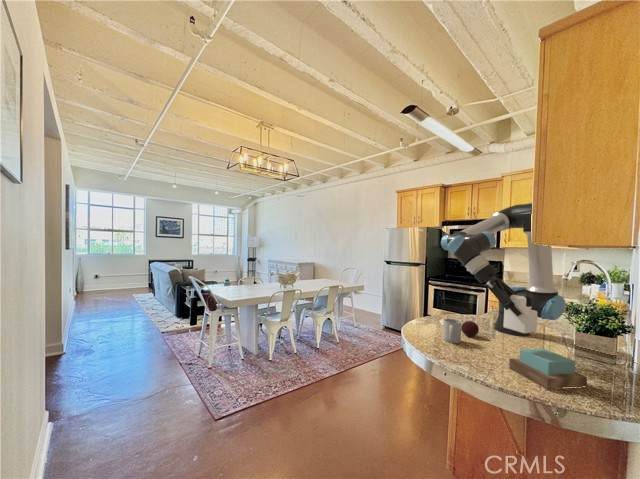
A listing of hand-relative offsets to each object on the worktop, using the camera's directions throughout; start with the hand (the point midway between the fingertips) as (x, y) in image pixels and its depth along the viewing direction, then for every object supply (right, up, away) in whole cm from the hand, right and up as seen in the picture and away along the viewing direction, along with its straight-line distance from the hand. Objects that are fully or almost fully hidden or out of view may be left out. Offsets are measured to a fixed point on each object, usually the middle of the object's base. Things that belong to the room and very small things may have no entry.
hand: (531, 321), depth 94 cm
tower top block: (+3, -15, -3) cm, 15 cm away
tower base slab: (+3, -19, -3) cm, 19 cm away
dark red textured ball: (-1, -19, +38) cm, 42 cm away
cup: (-14, -18, +29) cm, 37 cm away
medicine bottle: (-2, -4, +2) cm, 5 cm away
